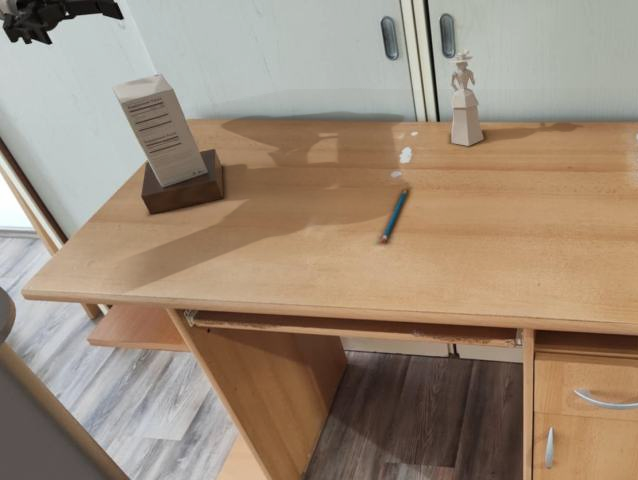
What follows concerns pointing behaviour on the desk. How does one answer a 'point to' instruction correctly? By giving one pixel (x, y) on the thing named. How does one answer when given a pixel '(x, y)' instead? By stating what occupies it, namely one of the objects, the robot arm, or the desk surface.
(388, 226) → the pencil
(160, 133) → the supplement box
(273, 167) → the desk surface
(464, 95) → the figurine
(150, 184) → the block
